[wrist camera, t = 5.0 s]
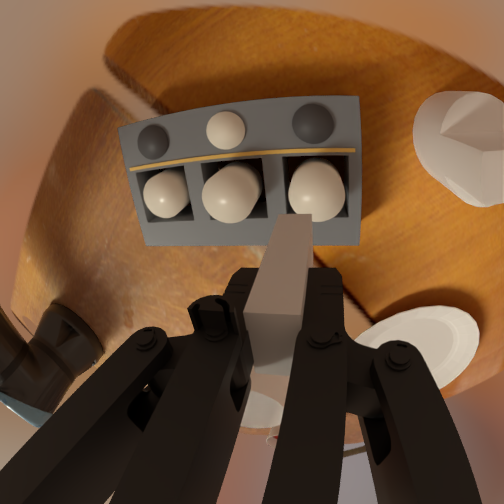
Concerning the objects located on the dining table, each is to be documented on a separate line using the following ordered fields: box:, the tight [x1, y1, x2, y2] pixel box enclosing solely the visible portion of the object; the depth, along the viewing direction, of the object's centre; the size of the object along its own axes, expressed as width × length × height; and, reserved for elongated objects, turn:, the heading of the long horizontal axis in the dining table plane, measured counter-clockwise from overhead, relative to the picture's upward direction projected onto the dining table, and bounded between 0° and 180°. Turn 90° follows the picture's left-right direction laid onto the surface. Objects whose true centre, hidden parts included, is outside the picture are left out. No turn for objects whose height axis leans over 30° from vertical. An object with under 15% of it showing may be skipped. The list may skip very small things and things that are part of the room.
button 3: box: [288, 157, 345, 222], centre depth 21 cm, size 4×4×4 cm
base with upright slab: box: [413, 91, 504, 207], centre depth 14 cm, size 9×9×12 cm
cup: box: [240, 365, 290, 428], centre depth 30 cm, size 9×9×12 cm
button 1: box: [143, 165, 191, 218], centre depth 25 cm, size 4×4×4 cm
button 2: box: [202, 162, 263, 223], centre depth 22 cm, size 4×4×4 cm
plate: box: [354, 305, 480, 389], centre depth 32 cm, size 21×21×2 cm
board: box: [118, 96, 362, 246], centre depth 24 cm, size 20×12×4 cm, turn 97°
